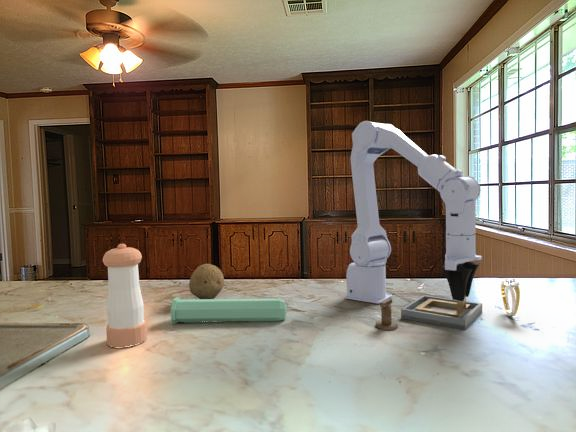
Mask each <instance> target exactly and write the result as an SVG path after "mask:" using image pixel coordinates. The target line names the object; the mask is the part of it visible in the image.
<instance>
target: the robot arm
mask: <svg viewBox="0 0 576 432" xmlns="http://www.w3.org/2000/svg"><path fill="white" fill-rule="evenodd" d="M351 139H352V148H351V154H350V168H351V177H352V186H353V196H354V204H355V215H356V224H357V227H356V229H355V230H354V232H353V233H352V234H351V235H350V237H351V244H350V248H349V254H350V257H351V260H352V261H353V262H351V263H350V264H348V266H347V269H346V275H345V277H346V295H345V297H344V298H345V299H347V300H351V301H352V300H353V301H359V302H365V303H371V304H379V305H380V302H382V301H384V300H386V299H392V297H393V294H388V293H387V288H386V287H387V286H386V284H387V280H386V279H387V277H386V275H387V272H386V263H387V259H388V258H389V257H390V255H391V253H392V246H391V242H390V241H389V239H388V235H387V231H386V230H385V228H383V227H382V226H381V224H380V217H379V205H378V198H377V188H376V180H375V178H376V177H375V168H374V162H375V161H376V160H377V159H378V158H379V157H380V156H381V155H383V154H384V153H386V152H387V151H388V150H390V149H392V150H394V151H395V152H396V153H398V154H399V155H400V156H402V157H403V158H405V160H407V161H409V162H410V163H411V164H413V165H415V166H416V167H417V174H418V176H420V177H421V178H422V179H423V180H424V181H425V182H427V183H428V184H429V185H430V186H431V187H432V188H434V189H435V190H436V191H438V192H439V195H440V198H441V199H442V201H443V203H444V205H445V249H446V250H445V255H444V258H445V260H444V265H442V266H441V271H442V273H443V274H444V276H445V278H446V280H447V282H448V283H447V284H448V286H449V287H448V288H449V290H450V296H451V299H453V300H458V301H463V300H464V298H465V293H466V298H469V296H470V293H471V289H472V283H473V279H474V277H475V274H476V271H477V270H478V269H479V267H480V263H479V262H474V261H481V260H482V259H483V256H482V255H479V254H478V255H477V253H476V250H477V249H476V239H477V238H476V237H477V235H476V232H477V231H476V229H477V227H476V218H477V217H476V200H478V199H479V196H480V194H481V185H480V183H479V182H478V180H476V179H475V177H473V176H471V175H465V176H464V175H463V173H464V171H462V170H461V169H456V168H455V167H454V166H452V165H451V164H450V163H449V162H447V161H446V160H447V157H446V156H445V155H443V154H442V155H441V154H435V153H434V154H427V152H425V151H424V150H422V148H420V147H419V145H417V144H416V143H415V142H413V141H412V140H411V139H410V138H409V137H408V136H406V135H405V134H404V133H403V131H402V130H400V129H398V128H397V127H395V126H394V125H393V124H391V123H381V122H374V121H369V120H363V121H361V122H360V123H359V124H358V125H356V127H355V128H354V130H353V132H352V133H351Z"/></svg>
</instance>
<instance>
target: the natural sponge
mask: <svg viewBox="0 0 576 432" xmlns="http://www.w3.org/2000/svg"><path fill="white" fill-rule="evenodd" d="M224 283H225V278H224V274H223V272H222V270H221V269H220V268H219V267H218V266H216V265H214V264H212V263H204V264H201V265H199V266H198V267H196V269H195V270H193V272H192V274H191V275H190V279H189V283H188V287H189V292H190V293H191V295H193V296H195V297H196V298H197V299H216V297H217V296H218V295H219V294H220V293H221V291H222V290H223V287H224Z"/></svg>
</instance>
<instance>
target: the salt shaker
mask: <svg viewBox="0 0 576 432" xmlns="http://www.w3.org/2000/svg"><path fill="white" fill-rule="evenodd" d="M142 259H143V256H142V253H141V251H139V249H137V248H134V247H129V246H128V247H127V245H126V243H120V244H118V245H117V246H116V248H112V249H110V250H108V251H106V252H105V253H104V255H103V257H102V263H103V265H104V266H105V267H107V276H108V277H107V279H108V294H107V296H108V297H107V302H106V303H107V306H106V313H107V325H106V344H108V345H109V346H112V347H125V346H130V345H135V344H138V343H141V342H143V341H144V340H146V339H147V340H148V330H147V327H148V326H147V320H146V319H145V309H144V306H145V305H144V300H143V295H142V292H141V286H140V275H139V264H140V263H141V261H142ZM147 340H146V341H147ZM143 343H144V342H143ZM108 345H107V346H108ZM109 346H108V347H109Z"/></svg>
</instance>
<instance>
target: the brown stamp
mask: <svg viewBox="0 0 576 432" xmlns="http://www.w3.org/2000/svg"><path fill="white" fill-rule="evenodd" d="M392 303H393V299H392V298H389V299H386V300H384V301H382V302H380V303H379V307H380V308H381V309H380V310H381V311H380V312H381V313H380V314H381V320H378V321H376V322H375V328H377V329H379V330H382V331H383V330H384V331H392V330H394V331H395V330H397V329H398V327H399V325H398V323H397V322H396V321H394V320H393V321H392Z"/></svg>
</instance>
